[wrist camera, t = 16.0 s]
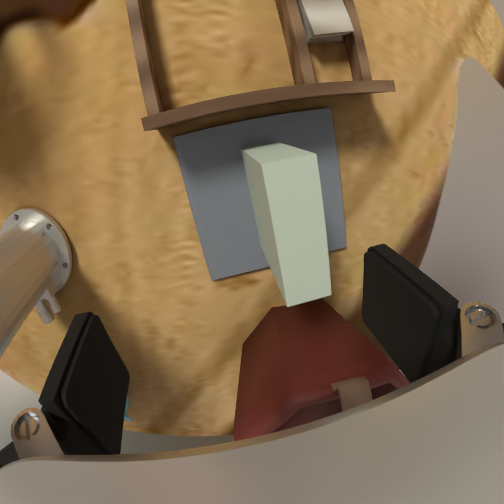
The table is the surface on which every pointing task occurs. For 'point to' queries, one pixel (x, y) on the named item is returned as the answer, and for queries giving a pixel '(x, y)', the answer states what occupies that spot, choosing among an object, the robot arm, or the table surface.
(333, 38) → the offcut lower
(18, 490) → the robot arm
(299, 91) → the rack
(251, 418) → the bucket
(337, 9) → the offcut upper
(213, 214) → the mat
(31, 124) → the table surface
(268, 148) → the pale green block
